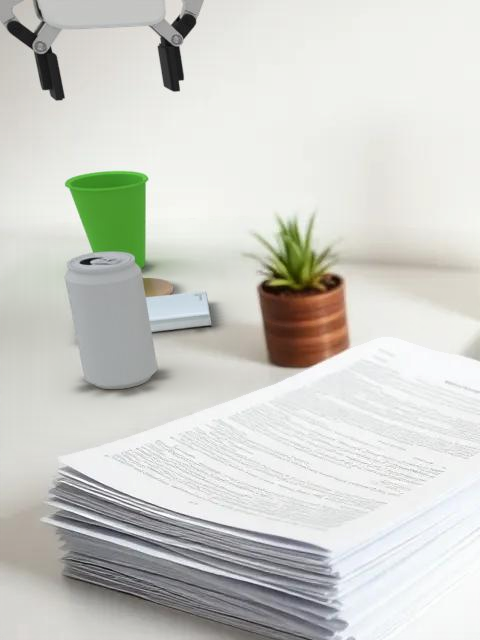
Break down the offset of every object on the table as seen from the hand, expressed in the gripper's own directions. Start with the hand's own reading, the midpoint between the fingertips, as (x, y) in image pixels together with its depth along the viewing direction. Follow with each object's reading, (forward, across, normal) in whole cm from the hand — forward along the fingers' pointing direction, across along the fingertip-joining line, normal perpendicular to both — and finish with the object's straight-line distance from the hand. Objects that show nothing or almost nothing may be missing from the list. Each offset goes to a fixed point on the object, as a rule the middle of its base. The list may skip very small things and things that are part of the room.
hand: (116, 93), depth 102 cm
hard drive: (+26, -1, -12) cm, 29 cm away
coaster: (+26, -2, -22) cm, 35 cm away
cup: (+26, -3, -33) cm, 42 cm away
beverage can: (+26, +4, +3) cm, 27 cm away
